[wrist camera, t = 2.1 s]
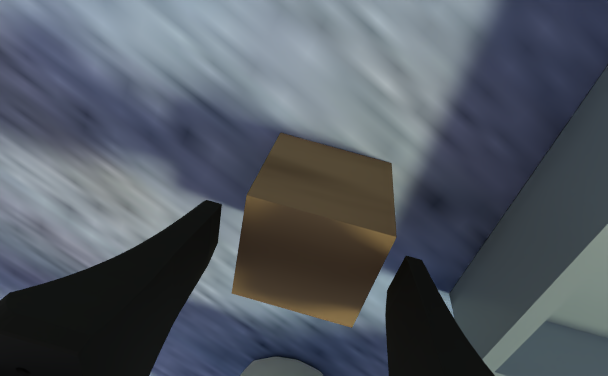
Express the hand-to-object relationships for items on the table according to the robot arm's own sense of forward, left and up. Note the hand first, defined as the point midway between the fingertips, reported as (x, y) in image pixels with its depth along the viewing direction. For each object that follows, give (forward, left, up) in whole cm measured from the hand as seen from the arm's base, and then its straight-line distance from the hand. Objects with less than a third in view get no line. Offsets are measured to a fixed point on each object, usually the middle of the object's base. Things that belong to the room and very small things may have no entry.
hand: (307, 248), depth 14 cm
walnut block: (0, 0, -4) cm, 4 cm away
